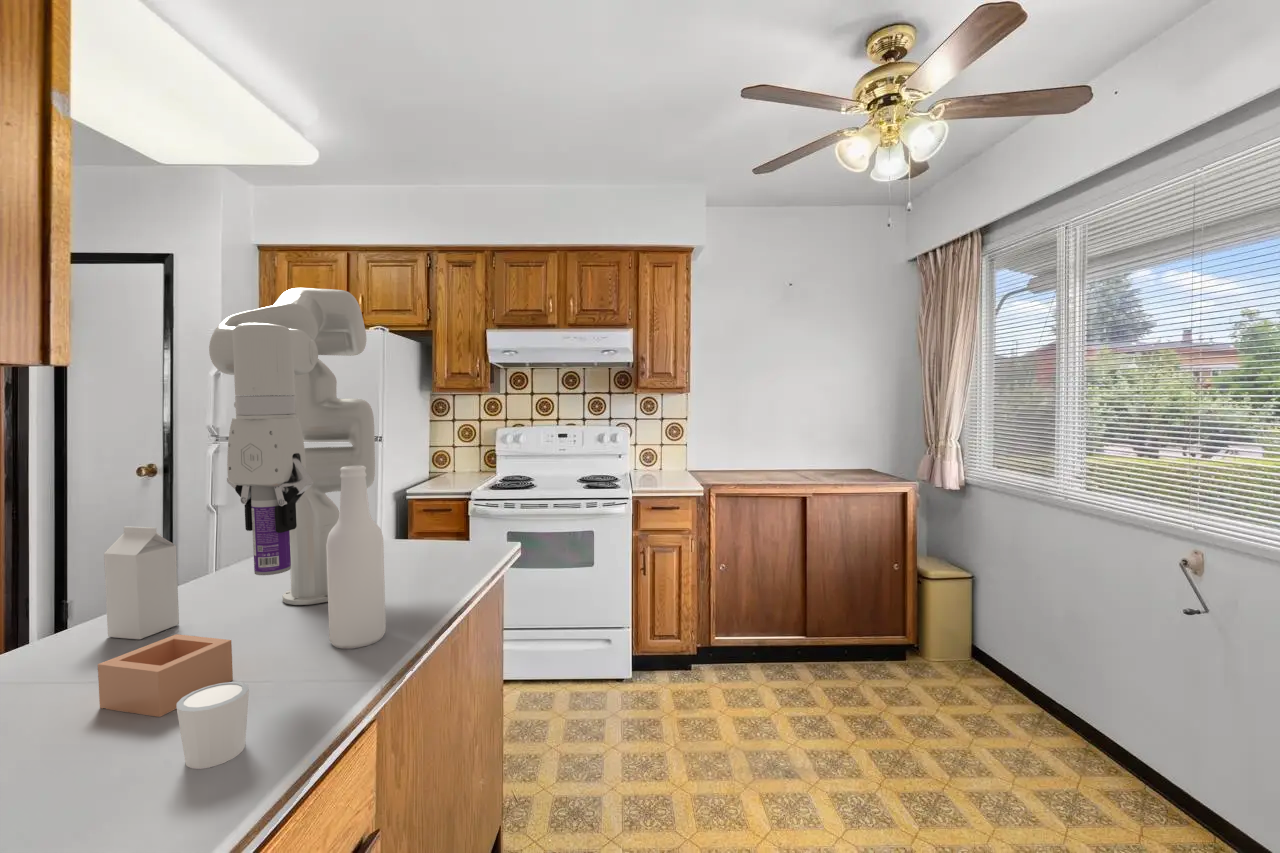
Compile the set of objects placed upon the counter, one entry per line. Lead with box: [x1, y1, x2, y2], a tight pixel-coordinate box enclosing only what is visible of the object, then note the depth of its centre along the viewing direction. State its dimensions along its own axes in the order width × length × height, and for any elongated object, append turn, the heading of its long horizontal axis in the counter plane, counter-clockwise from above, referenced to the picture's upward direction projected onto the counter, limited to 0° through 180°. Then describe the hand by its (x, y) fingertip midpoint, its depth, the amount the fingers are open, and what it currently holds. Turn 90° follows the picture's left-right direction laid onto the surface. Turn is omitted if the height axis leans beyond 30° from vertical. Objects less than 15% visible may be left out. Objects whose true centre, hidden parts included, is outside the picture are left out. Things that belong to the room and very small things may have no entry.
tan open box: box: [97, 633, 234, 718], centre depth 82 cm, size 10×10×6 cm
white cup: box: [176, 681, 250, 770], centre depth 67 cm, size 7×7×7 cm
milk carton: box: [103, 526, 180, 640], centre depth 105 cm, size 7×7×19 cm
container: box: [251, 482, 291, 576], centre depth 87 cm, size 5×5×15 cm
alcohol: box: [326, 466, 387, 650], centre depth 100 cm, size 9×9×30 cm
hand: (271, 528), depth 87 cm, fingers closed on container, 4 cm apart
